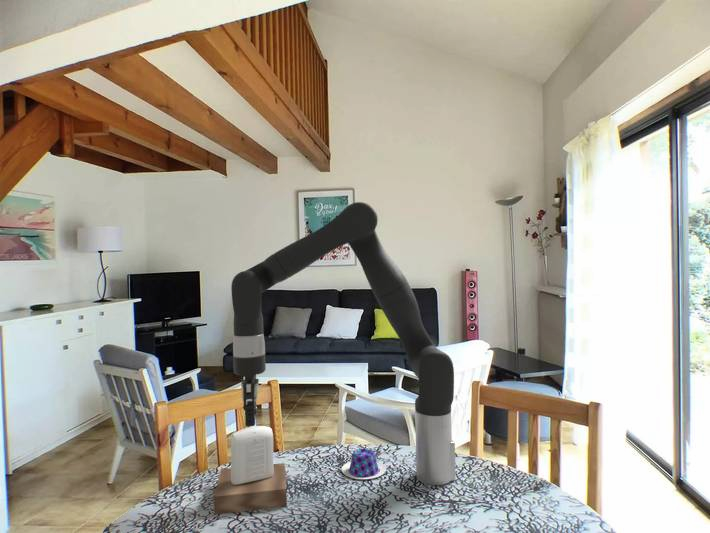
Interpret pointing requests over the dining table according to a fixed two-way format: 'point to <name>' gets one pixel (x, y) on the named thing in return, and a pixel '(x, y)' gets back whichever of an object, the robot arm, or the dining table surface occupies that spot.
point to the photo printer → (251, 454)
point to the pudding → (363, 465)
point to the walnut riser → (250, 492)
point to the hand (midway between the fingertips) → (251, 420)
